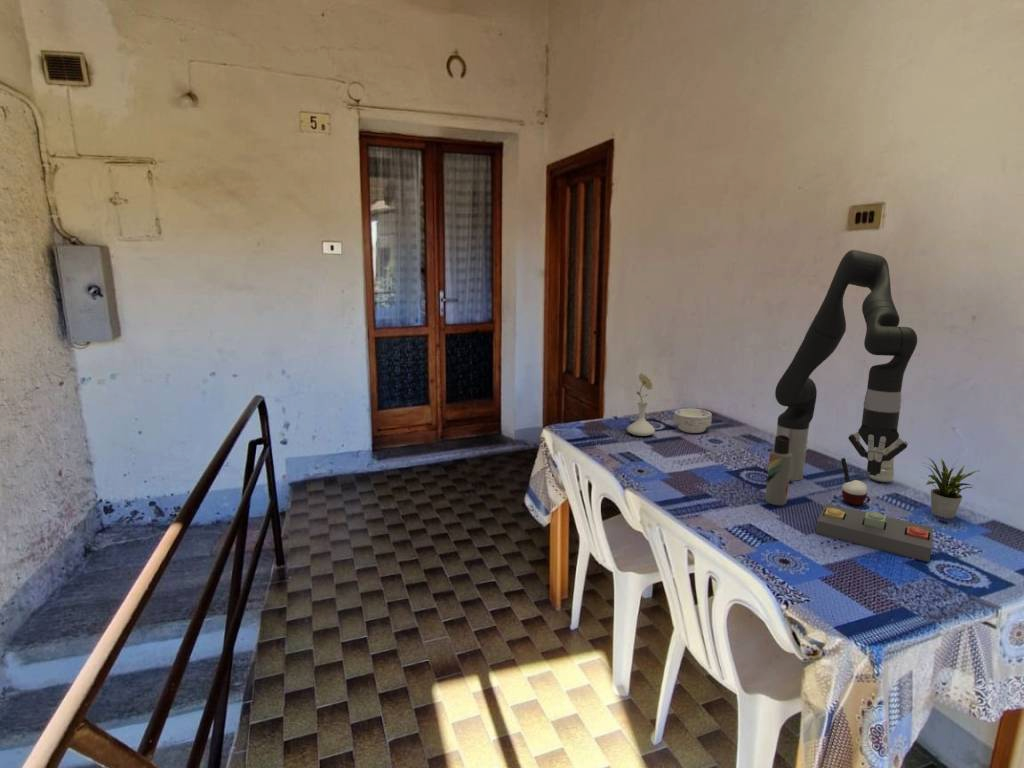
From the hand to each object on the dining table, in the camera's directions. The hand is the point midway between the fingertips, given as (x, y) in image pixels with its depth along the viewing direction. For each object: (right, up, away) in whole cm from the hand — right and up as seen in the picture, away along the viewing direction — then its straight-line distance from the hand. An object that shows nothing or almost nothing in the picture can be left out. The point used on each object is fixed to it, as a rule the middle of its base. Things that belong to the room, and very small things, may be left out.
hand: (873, 474), depth 143 cm
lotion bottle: (-13, -12, +24) cm, 30 cm away
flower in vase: (-38, +2, +91) cm, 99 cm away
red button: (+9, -17, -3) cm, 19 cm away
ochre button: (-5, -14, +8) cm, 17 cm away
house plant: (+29, -14, +17) cm, 36 cm away
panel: (+2, -16, +3) cm, 17 cm away
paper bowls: (-15, +3, +96) cm, 98 cm away
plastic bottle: (+28, -9, +41) cm, 51 cm away
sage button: (+2, -14, +2) cm, 14 cm away
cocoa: (+9, -12, +24) cm, 29 cm away
